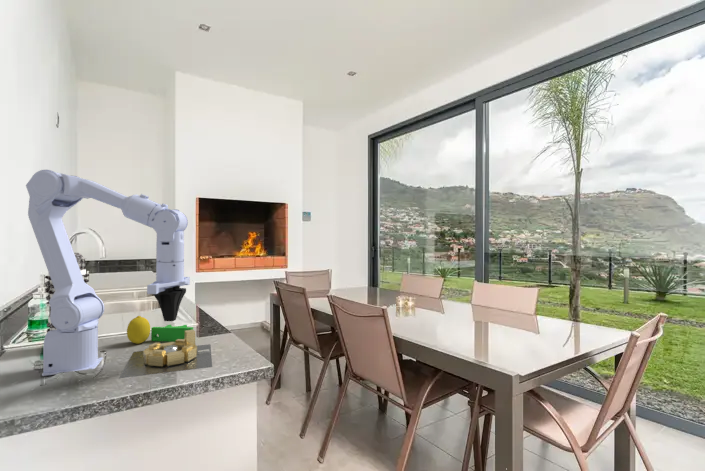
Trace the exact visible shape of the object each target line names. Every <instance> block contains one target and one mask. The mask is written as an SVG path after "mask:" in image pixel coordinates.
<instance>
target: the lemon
mask: <svg viewBox="0 0 705 471" xmlns="http://www.w3.org/2000/svg"><path fill="white" fill-rule="evenodd" d="M150 335H151V325H150V322H149V320H148V319H147V318H145V317H143V316H141V315H138V316H136V317H134V318H132V319H131V320H130V321H129V322H128V325H127V329H126V336H127V338H128V340H129V342H131V343H133V344H136V345H139V344H142V343H144V342H146V341H147V340H148V339H149V337H150Z"/></svg>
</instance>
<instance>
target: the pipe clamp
mask: <svg viewBox="0 0 705 471" xmlns="http://www.w3.org/2000/svg"><path fill="white" fill-rule="evenodd" d="M186 330H194V327H193V326H188V324H183V325H178V326H177V325H173V326H172V324H167V325H166V326H152V327H150V335H151V336H150V337H151V338H150V341H151V342H175V343H176V340H178V339H185V331H186Z"/></svg>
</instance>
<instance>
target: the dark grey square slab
mask: <svg viewBox="0 0 705 471" xmlns="http://www.w3.org/2000/svg"><path fill="white" fill-rule="evenodd" d="M196 346H197V355H196V357H195V358H193V359H191V360H190V361H184V363H180V364H175V365H170V366H167V365H164V366H151V365H148V364H145V362H144V360H143V351H144V350H138V351H133V353H132V355H131V356H130V358H129V360H128V361H127V362H126V365H125V367H124V368H123V370H122V372H121V374H120V375H119V377H118V379H122V378H124V379H125V378H131V377H132V378H133V377H139V376H140V377H141V376H149V375H157V374H166V373H175V372H183V371H189V370H191V371H192V370H199V369H200V370H201V369H206V368H207V369H208V368H212V367H213V362H212V361H213V359H212V348H211V344H210V343H209V344H200V345H199V344H198V345H196ZM164 350H166V353H169V352H175V351H178V346H176V345H170V346H166V347H164Z"/></svg>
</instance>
